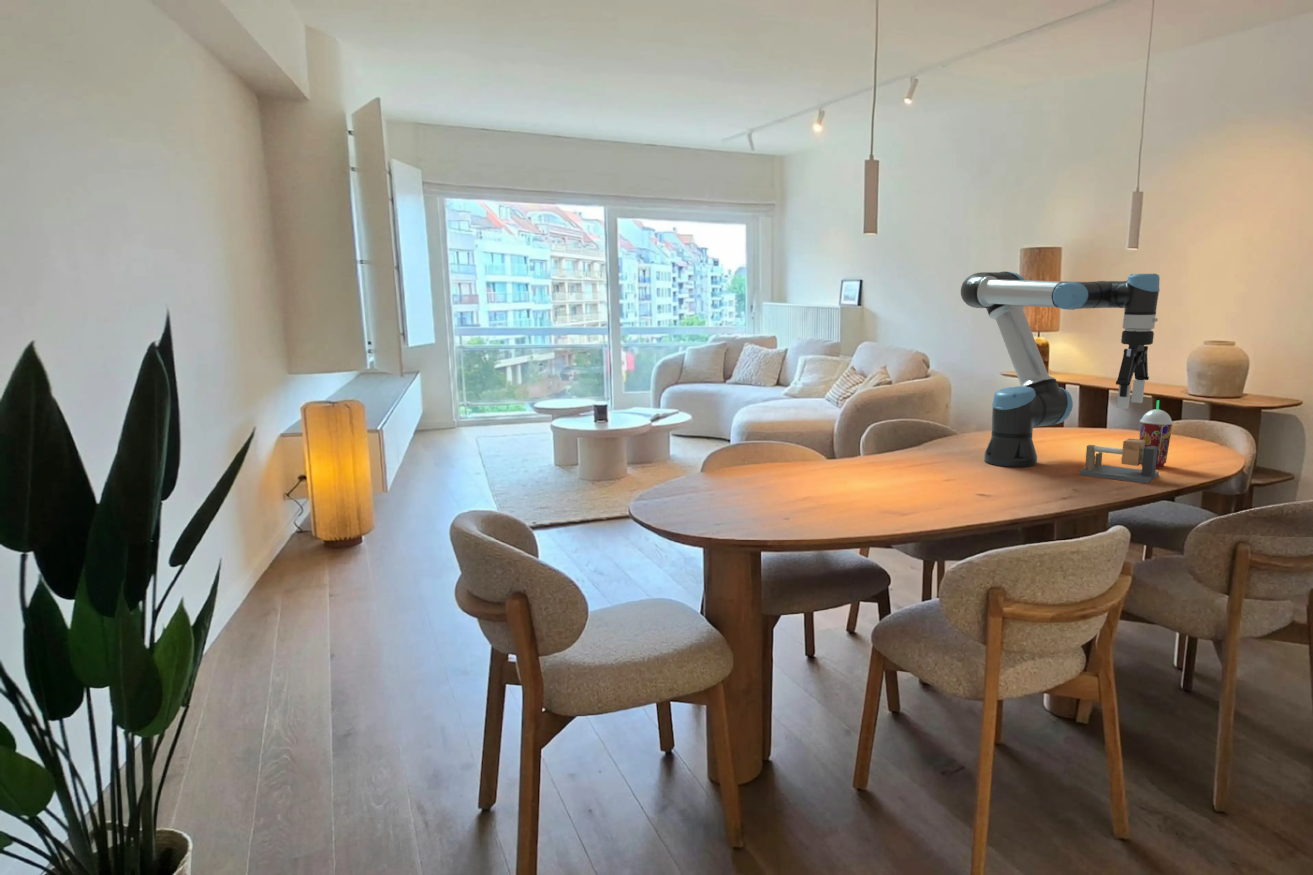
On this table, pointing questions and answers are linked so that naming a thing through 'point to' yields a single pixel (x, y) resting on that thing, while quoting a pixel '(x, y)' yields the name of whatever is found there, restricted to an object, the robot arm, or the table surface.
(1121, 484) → the table surface
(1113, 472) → the peg stand base
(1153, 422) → the smoothie
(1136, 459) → the sleeve
